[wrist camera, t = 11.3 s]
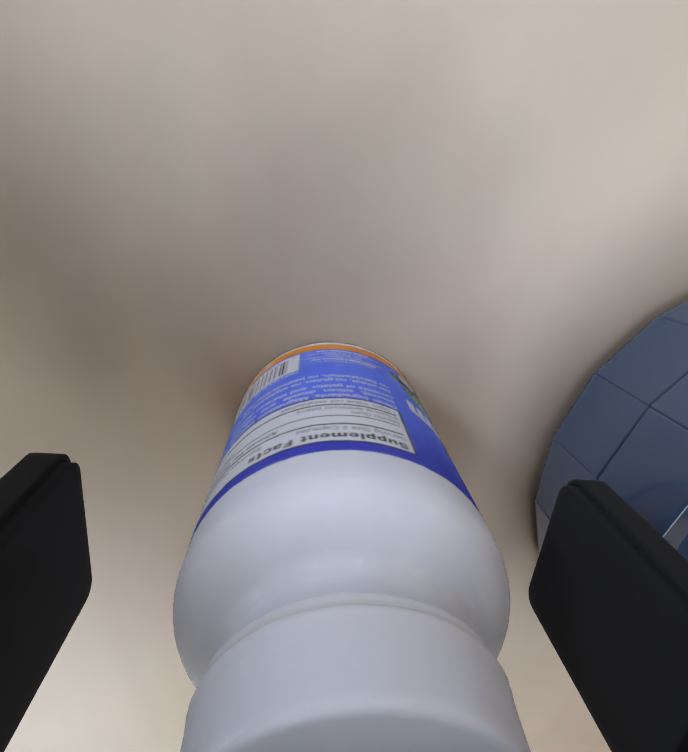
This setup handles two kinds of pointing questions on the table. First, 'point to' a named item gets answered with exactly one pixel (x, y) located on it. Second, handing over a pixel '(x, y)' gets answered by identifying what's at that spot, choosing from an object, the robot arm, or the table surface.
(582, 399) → the bowl
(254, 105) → the table surface
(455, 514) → the pill bottle
